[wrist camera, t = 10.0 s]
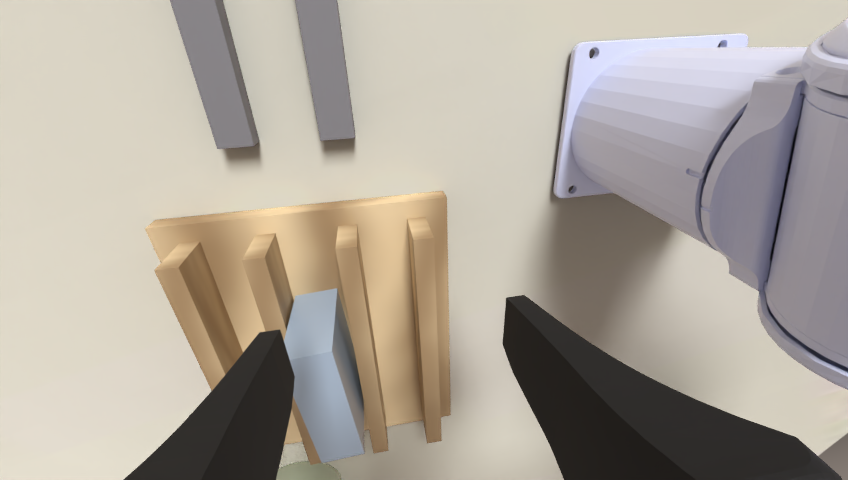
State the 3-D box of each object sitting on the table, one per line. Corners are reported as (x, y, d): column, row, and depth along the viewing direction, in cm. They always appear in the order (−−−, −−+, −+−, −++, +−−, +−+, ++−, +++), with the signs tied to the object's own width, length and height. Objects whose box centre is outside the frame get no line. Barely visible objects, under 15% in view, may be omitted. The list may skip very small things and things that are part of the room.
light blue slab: (337, 288, 21) (331, 351, 16) (363, 382, 25) (364, 453, 20) (295, 295, 21) (278, 361, 16) (328, 389, 24) (321, 463, 20)
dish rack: (442, 191, 20) (457, 216, 17) (447, 404, 29) (458, 446, 26) (155, 220, 18) (114, 254, 15) (251, 438, 27) (237, 487, 24)
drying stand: (322, -108, 14) (320, -118, 13) (355, 133, 18) (354, 137, 17) (147, -108, 13) (132, -119, 12) (224, 143, 17) (217, 148, 16)
